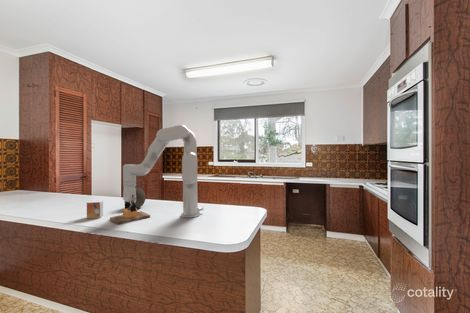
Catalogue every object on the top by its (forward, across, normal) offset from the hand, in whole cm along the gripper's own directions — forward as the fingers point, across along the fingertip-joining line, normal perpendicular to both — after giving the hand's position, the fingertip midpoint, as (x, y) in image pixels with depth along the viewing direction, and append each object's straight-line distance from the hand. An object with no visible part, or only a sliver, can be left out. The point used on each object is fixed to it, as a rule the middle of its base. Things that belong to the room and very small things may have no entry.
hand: (130, 210), depth 143 cm
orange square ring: (+4, 0, 0) cm, 4 cm away
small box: (+6, -20, -15) cm, 26 cm away
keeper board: (+6, 0, 0) cm, 6 cm away
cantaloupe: (+6, -26, +14) cm, 30 cm away
